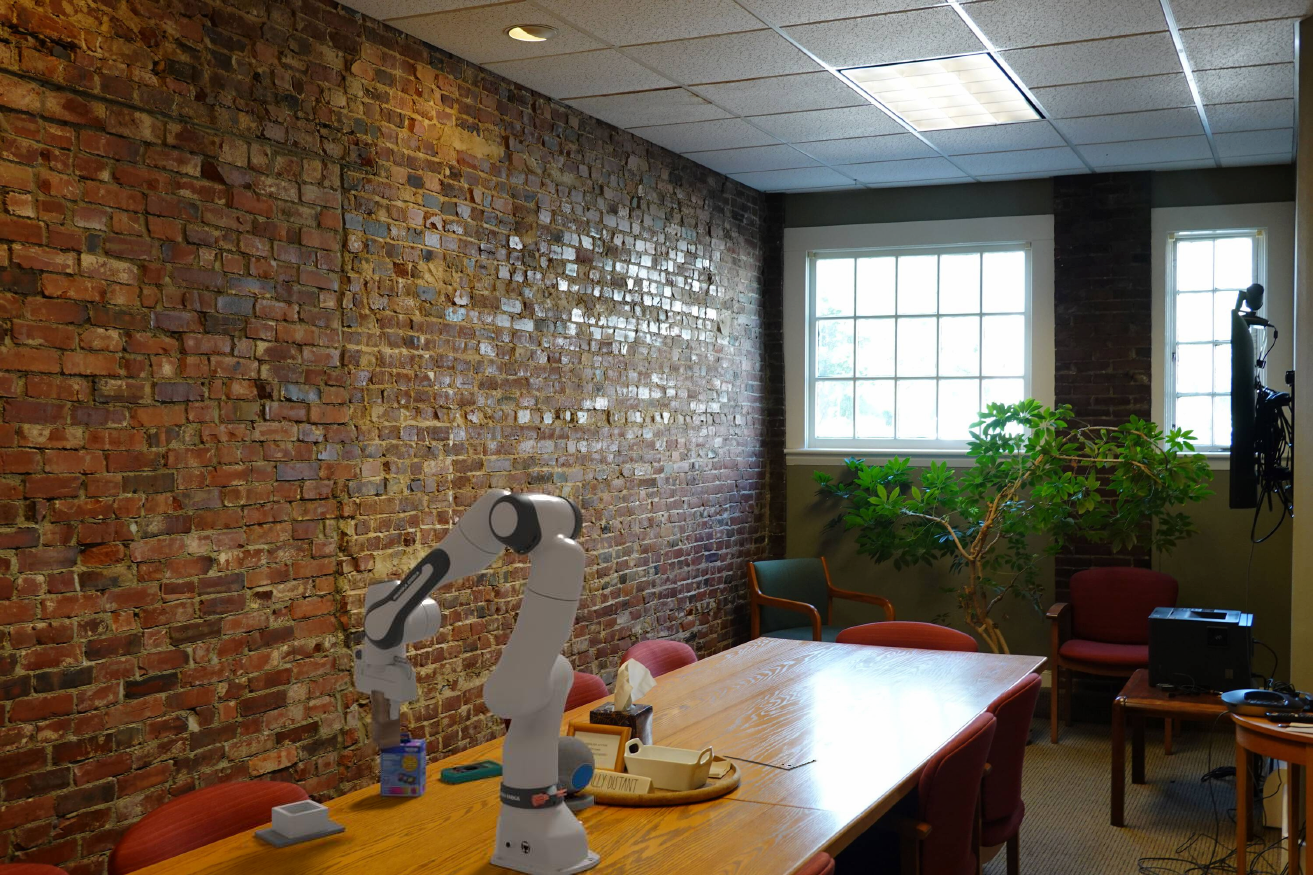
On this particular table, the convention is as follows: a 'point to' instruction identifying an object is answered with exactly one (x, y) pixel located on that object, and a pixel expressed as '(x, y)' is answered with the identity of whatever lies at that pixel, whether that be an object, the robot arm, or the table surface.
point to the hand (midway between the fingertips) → (385, 716)
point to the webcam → (575, 771)
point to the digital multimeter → (471, 771)
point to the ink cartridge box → (403, 768)
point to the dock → (298, 824)
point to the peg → (383, 722)
